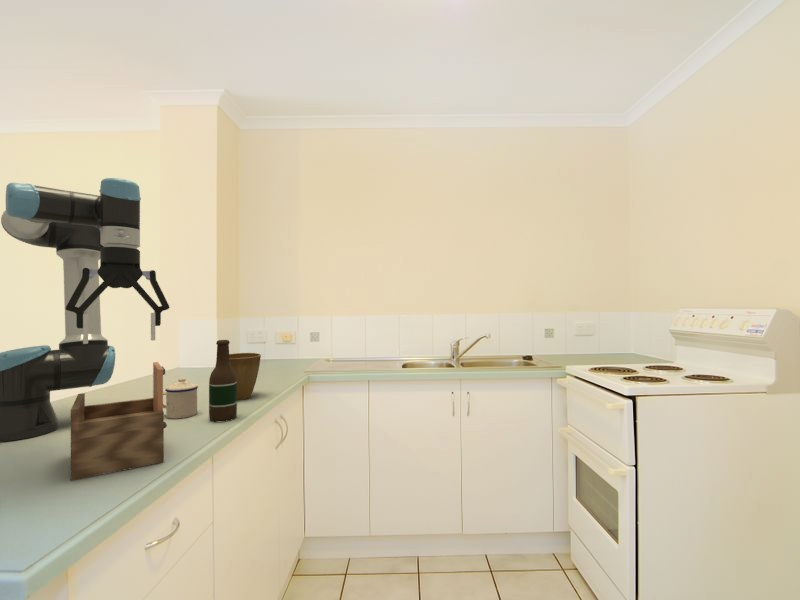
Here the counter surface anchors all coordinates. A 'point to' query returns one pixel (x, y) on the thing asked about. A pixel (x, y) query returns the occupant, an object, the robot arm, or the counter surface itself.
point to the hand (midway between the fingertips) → (120, 341)
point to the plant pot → (245, 372)
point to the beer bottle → (222, 386)
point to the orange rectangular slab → (158, 387)
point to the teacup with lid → (181, 399)
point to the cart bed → (114, 436)
